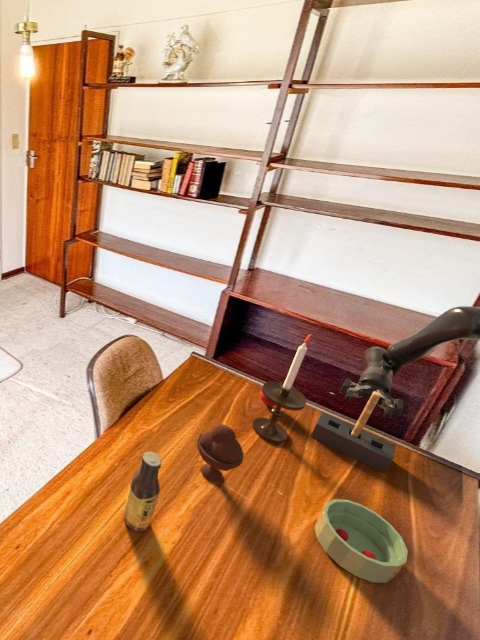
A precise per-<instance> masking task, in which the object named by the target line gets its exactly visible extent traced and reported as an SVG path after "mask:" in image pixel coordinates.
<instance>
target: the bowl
mask: <svg viewBox="0 0 480 640" xmlns="http://www.w3.org/2000/svg"><path fill="white" fill-rule="evenodd" d="M337 529H343V530H344V531H346V532H347V534H348V536H349V538H348V540H347V541H344V540H343V539H342V538H341V537H340V536H339V535H338V534H337V533H336V530H337ZM314 532H315V535H316V539H317V541H318V543H319V545H320V546H321V547H322V549H323V550H324V552H325V553H326V555H328V556H329V557H330V558H331V559H332V560H333V561H334V562H335V563H336V564H337V565H338V566H340V567H341V568H342V569H343V570H345V571H347V572H348V573H350V574H352V575H353V576H355V577H357V578H359V579H362V580H365V581H367V582H370V583H376V584H377V583H378V584H387V583H388V582H390V581H391V580H393V579H394V578H395V577H396V576H397V575H398V573H399V572H400V571H401V570H402V568H403V567H404V565H405V564H406V563H407V561H408V554H409V550H408V547H407V545H406V543H405V541H404V539H403V537H402V536H401V535H400V533H399V532H398V531H397V530H396V528H395V527H394V526H393V525H392V524H391V523H390V522H389V521H387V520H386V519H385V518H383V517H382V516H381V515H380V514H379V513H377V512H376V511H374V510H372V509H370V508H369V507H366V506H365V505H363V504H361V503H358V502H355V501H352V500H349V499H338V498H334V499H332V500H330V501H328V502H326V503H325V505H324V506H323V508H322V509H321V512H320V513H319V515H318V517H317V519H316V521H315V525H314ZM364 550H367V551H370V552H372V553H373V554H374V556H375V558H376V560H375V559H372V558H369V557H367V556H365V555H363V554H362V551H364Z"/></svg>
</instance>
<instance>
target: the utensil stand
mask: <svg viewBox="0 0 480 640" xmlns="http://www.w3.org/2000/svg"><path fill="white" fill-rule="evenodd" d="M354 427H355V425H354V424H353V425H352V424H350V423H349V422H346V421H344V420H342V419H340V418H337V417H336V416H334V415H331V414H328V413H326V412H325V411H321V413H320V415H319V417H318V419H317V421H316V423H315V425H314V428H313V429H312V432H311V434H310V437H311V438H314V439H316V440H318V441H320V442H322V443H324V444H326V445H327V446H329V447H331V448H333V449H335V450H337V451H339V452H340V453H341V452H342V453H344V454H345V455H348V456H349V457H352V458H353V459H356V460H357V461H359V462H362V464H363V463H364V464H366V465H367V466H370V467H372V468H374V469H376V470H377V471H380V472H381V473H383V474H386V472H387V471H388V469H389V468H390V466H391V465H392V463H393V461H394V457H395V453H396V447H397V445H396V444H394V443H392V442H390V441H387V440H385V439H383V438H381V437H379V436H377V435H374V434H372V433H370V432H368V431H366V430H364V429H362V431H361V433H360V435H359V436H358V438H356V437H354V436H352V435H350V434H351V432H352V431H353V429H354Z"/></svg>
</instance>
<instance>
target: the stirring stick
mask: <svg viewBox="0 0 480 640" xmlns="http://www.w3.org/2000/svg"><path fill="white" fill-rule="evenodd" d="M380 396H381V394H380V393H379V392H376V391H374V392H373V393H372V395H371V397H370V399H369V400H368V401H367V402H366V405H365V406H364V408H363V410H362V412H361V414H360V416H359V417H358V418H357V421H356V423H355V424H354V426H355V427H354V429H353V431H352V432H351V434H350V435H352V436H354V437H356V438H358V436H359V435H360V433H361V431H362V430H364V427H365V425H366V424H367V422H368V420H369V418H370V417H371V414H372V413H373V411H374V409H375V407H376V405H377V402H378V400H379V398H380Z"/></svg>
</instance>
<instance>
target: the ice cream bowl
mask: <svg viewBox="0 0 480 640" xmlns="http://www.w3.org/2000/svg"><path fill="white" fill-rule="evenodd" d="M236 438H237V436H236V433H235V431H234V429H232V428H231V427H230V426H229V425H226V424H216V425H214V426H213V427H212V428H211V429H210V430H207V431H205V432H202V433H199V436H198V438H197V441H196V448H197V451H198V453H199V455H200V457H201V459H202V460H203V461H204V462H205V464H204V463H203V464H201V466H200V470H199V471H200V473H201V475H202V477H204V478H205V479H206V480H208V481H209V482H213V483H219V482H221V481H222V480H223V473H222V471H224V472H228V471H232V470H234V469H236V468H238V467H240V466H241V465H242V463H243V461H244V455H245V453H244V451H243V448H242V446H241V444H240V443H239V440H237V439H236Z"/></svg>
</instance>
